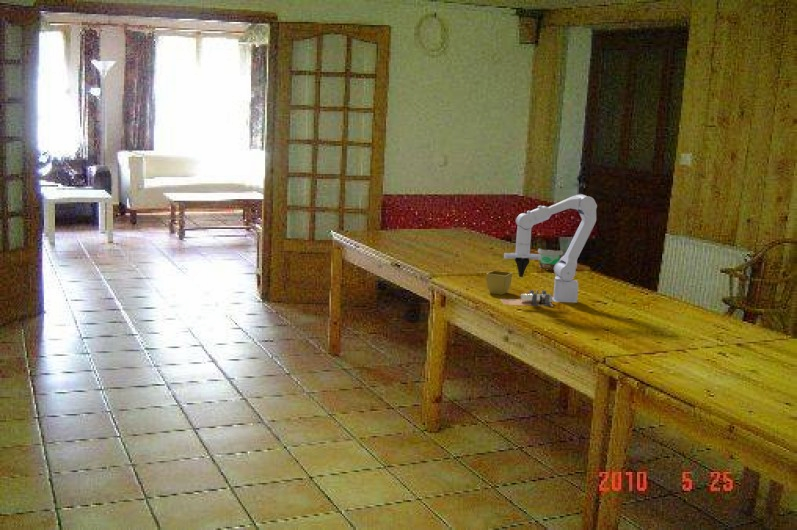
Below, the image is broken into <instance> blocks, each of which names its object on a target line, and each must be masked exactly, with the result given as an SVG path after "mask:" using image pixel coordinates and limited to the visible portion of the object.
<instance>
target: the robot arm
mask: <svg viewBox="0 0 797 530" xmlns="http://www.w3.org/2000/svg"><path fill="white" fill-rule="evenodd" d="M597 208H598V205H597V203H596V200H595V199H594V198H593V197H592V196H589V195H588V196H587V195H585V194H582V193H578V194H576V195H572V196H570V197H568V198H565V199H563V200H561V201H559V202H556V203H553V204H552V205H550V206H546V205H538V206H537V208H534V209H532V210H527V211H526V213H525V212H522V213H520V214H518V216H517V217H516V219H515V224H516V225H517V228H516V239H515V252H511V253H510V252H504V253H503V254H504V255H503V259H505V260H506V259H507V260H508V259H512V260H513V259H514V261H515V264H516V266H517V272H518V277H519V278H524V273H525V271H526V268H527V267H528V265H529V263H530V260H536V261H539V260H540V259H541V255H539V253H538V254H537V253H530V252H531V242H532V241H531V239H532V237H531V236H532V229H533V226H534V225H537V224H539V223H543V222H545V221H547V220H550V218H551V216H552V215H554V214H558V213H560V212H563V211H565V210H566V211H567V210H568V209H569V210H570V209H571V210H576V211H577V212H578V214H579V216H580V218H581V221H580V223H579V226H578V227H577V229H576V230H575V233H574V234H573V237H572V240H571V242H570V244H569V246H568V248H567V249H566V252H565V253H564V255H562V256H561V259H560V261H559V262H558V263H556V264H555V266H554V271H553V273H554V274H555V277H554V285H553V296H552V302H555V303H556V302H557V303H574V304H575V303H578V299H579V298H578V295H579V282H578V280H577V279H576V280H575V279H574V278H575V276H576V269H577V268H578V258H579V257H580V254H581V253H582V252H583V251H582V250H583V248H584V247H585V245H586V243H587V241H588V239H589V237H590V235H591V233H592V231H593V229H594V226H595V225H596V222H597Z"/></svg>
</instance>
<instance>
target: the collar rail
mask: <svg viewBox="0 0 797 530" xmlns="http://www.w3.org/2000/svg"><path fill="white" fill-rule="evenodd" d="M535 291H536V293H535ZM528 292H529V293H528V294H532V303H531V305H533V307H535V306H536V307H537V306H538V304H537V303H536V300H537V294H540V293H539V289H536V290H534V289H529V291H528ZM541 294H545V300H544V306H542V305H541V304H539V305H540V306H539V307H552V306H551V305H550V304H549V293H547V290H545V289H544V290H543V289H542V290H541ZM531 305H530V306H531Z"/></svg>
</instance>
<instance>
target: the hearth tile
mask: <svg viewBox="0 0 797 530" xmlns="http://www.w3.org/2000/svg"><path fill="white" fill-rule="evenodd" d="M499 300H500V301H501V304H502V305H507V306H508V305H509V306H533V305H531V303H521V300H520V299H518V298H517V299H516V298H499ZM537 304H538V306H539V307H545V306H544V303H537ZM539 304H541V305H542V306H540V305H539ZM549 304H550V305H551V306H550V307H554V305H553V303H549ZM533 307H534V306H533Z"/></svg>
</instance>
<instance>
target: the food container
mask: <svg viewBox="0 0 797 530" xmlns="http://www.w3.org/2000/svg"><path fill="white" fill-rule="evenodd" d="M537 253H538V254H539V255H541V259H540V260H538V264H539V266H538V267H540V268H542V269H548V270H554V266H555V264H556V263H558V262H559V261H560V259H561V257H562V256H563V254H564V252H563V250H562V249H561V250H553V249H543V248H538V249H537ZM540 268H539V269H540ZM542 269H541V270H542Z"/></svg>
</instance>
